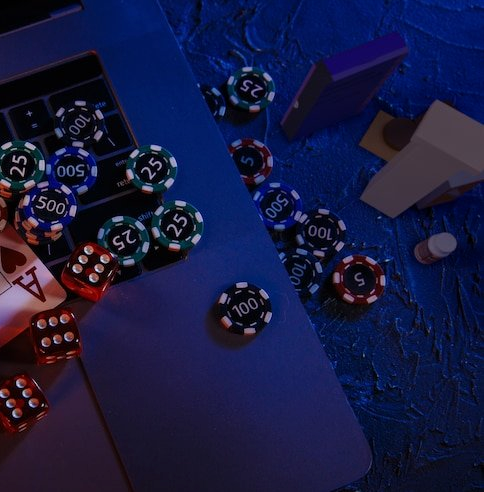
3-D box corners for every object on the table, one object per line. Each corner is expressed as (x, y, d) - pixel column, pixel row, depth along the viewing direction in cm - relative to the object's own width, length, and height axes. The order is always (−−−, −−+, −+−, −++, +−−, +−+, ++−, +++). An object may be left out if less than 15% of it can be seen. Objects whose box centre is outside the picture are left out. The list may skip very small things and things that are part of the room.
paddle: (459, 121, 136) (464, 117, 134) (397, 157, 133) (401, 154, 131) (437, 95, 138) (441, 90, 136) (375, 130, 135) (379, 126, 133)
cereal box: (349, 95, 138) (397, 29, 114) (360, 113, 136) (410, 50, 113) (280, 123, 136) (314, 62, 113) (290, 141, 135) (327, 83, 111)
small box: (418, 210, 130) (450, 188, 118) (406, 183, 132) (437, 158, 119) (453, 201, 131) (489, 178, 118) (441, 174, 133) (476, 148, 120)
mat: (428, 138, 135) (429, 137, 134) (408, 173, 133) (408, 172, 132) (379, 110, 137) (380, 109, 136) (358, 144, 134) (359, 144, 134)
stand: (416, 197, 131) (502, 135, 102) (399, 227, 129) (482, 172, 100) (366, 168, 133) (436, 98, 104) (348, 197, 131) (415, 134, 102)
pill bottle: (418, 266, 127) (439, 256, 119) (410, 245, 128) (430, 233, 120) (440, 261, 127) (462, 250, 119) (432, 240, 129) (453, 228, 120)
